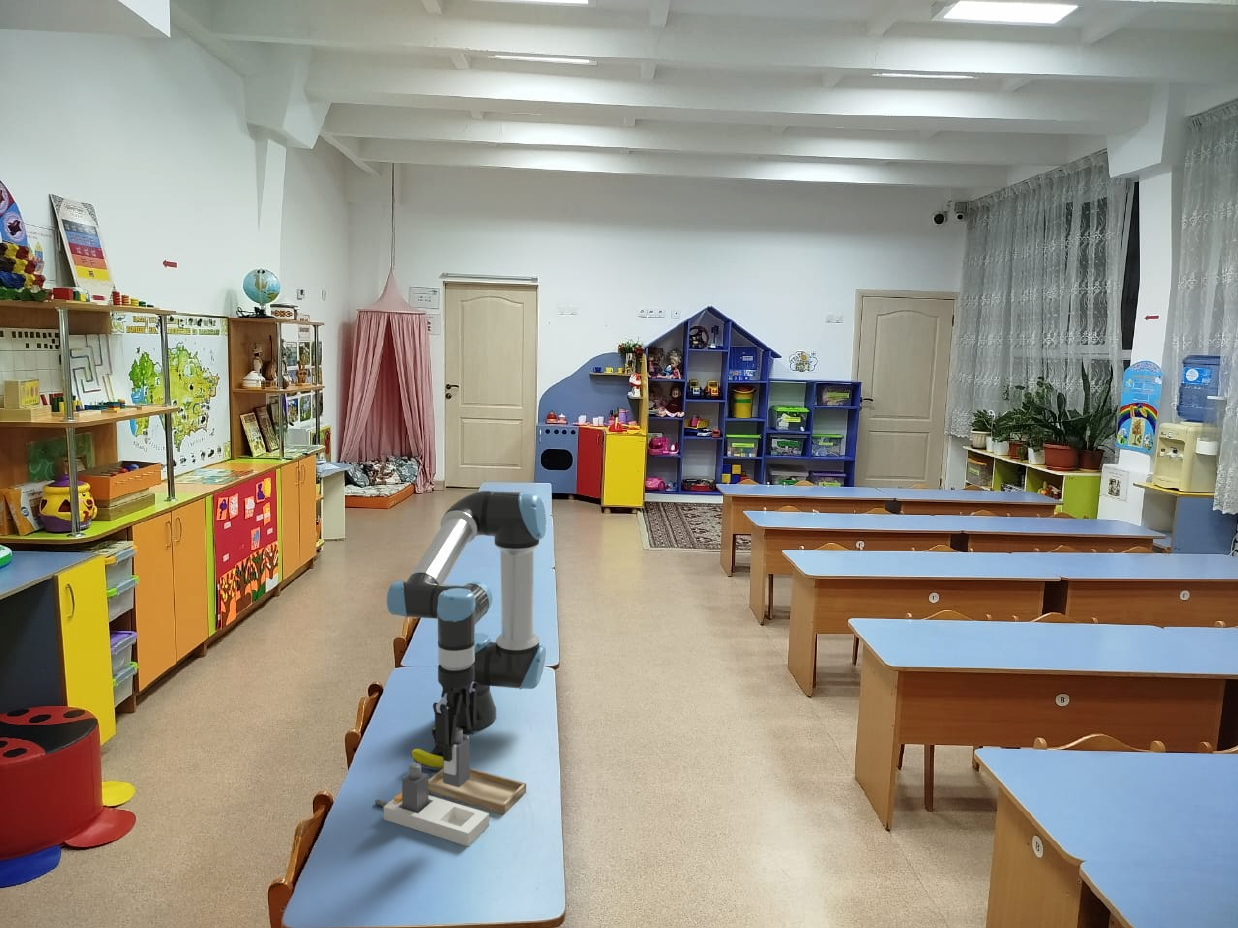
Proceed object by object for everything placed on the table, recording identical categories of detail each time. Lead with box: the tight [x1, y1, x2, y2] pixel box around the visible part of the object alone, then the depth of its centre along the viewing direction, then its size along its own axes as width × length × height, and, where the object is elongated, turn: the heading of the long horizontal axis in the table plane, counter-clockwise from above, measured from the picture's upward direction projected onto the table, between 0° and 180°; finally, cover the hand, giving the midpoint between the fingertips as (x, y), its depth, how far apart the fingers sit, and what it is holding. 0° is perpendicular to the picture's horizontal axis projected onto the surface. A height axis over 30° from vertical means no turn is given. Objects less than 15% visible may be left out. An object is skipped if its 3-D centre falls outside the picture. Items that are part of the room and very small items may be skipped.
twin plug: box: [401, 762, 429, 813], centre depth 183 cm, size 4×4×12 cm
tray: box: [428, 767, 527, 815], centre depth 194 cm, size 10×21×2 cm, turn 66°
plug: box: [443, 727, 471, 787], centre depth 176 cm, size 4×4×12 cm
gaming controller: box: [411, 727, 443, 772], centre depth 207 cm, size 15×6×10 cm
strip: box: [374, 791, 490, 847], centre depth 182 cm, size 8×28×4 cm, turn 66°
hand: (456, 767), depth 177 cm, fingers closed on plug, 4 cm apart
